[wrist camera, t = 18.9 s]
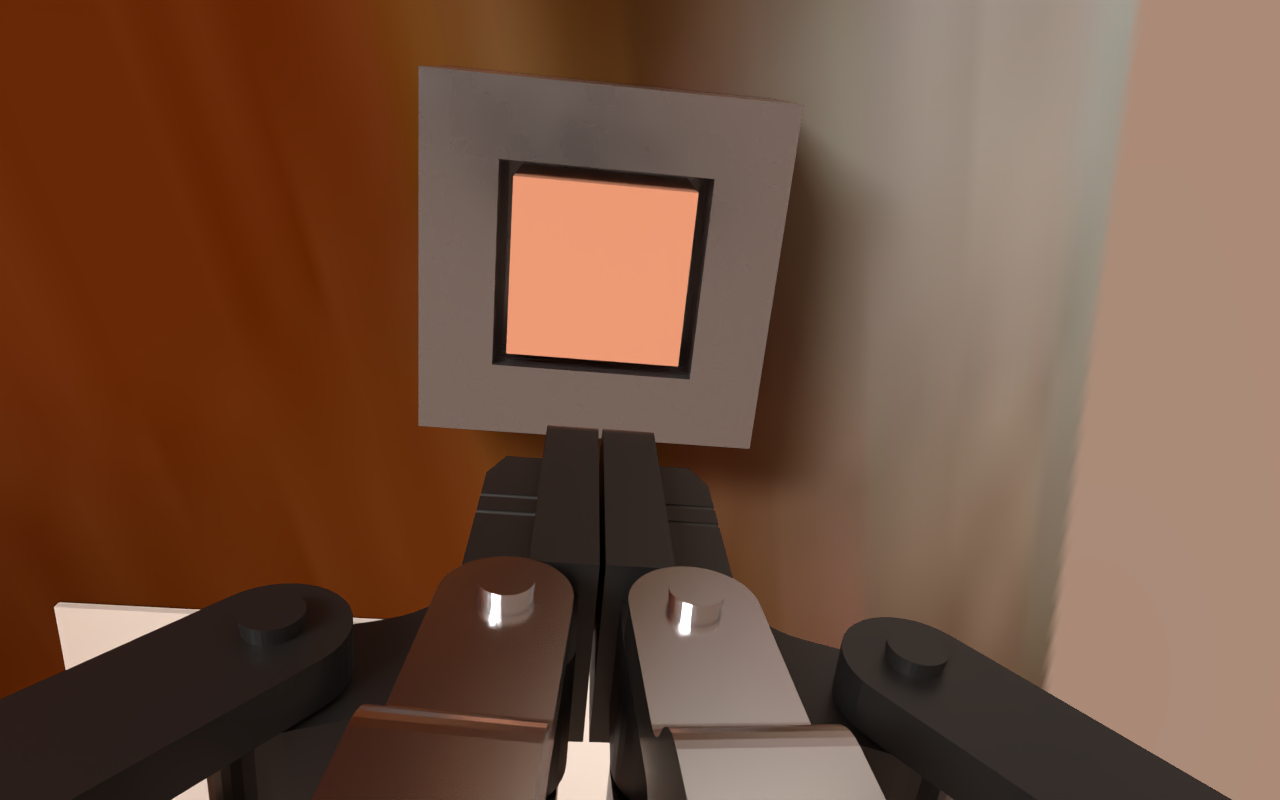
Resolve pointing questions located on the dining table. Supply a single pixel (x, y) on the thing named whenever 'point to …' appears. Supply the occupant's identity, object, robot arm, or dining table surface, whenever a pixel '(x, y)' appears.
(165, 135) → the dining table surface
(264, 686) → the robot arm
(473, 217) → the button housing
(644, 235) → the button cap
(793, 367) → the dining table surface
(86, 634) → the paper sheet
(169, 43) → the dining table surface
